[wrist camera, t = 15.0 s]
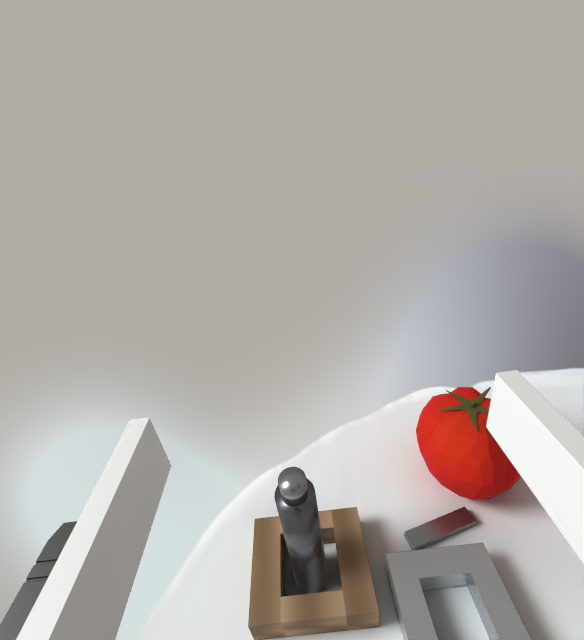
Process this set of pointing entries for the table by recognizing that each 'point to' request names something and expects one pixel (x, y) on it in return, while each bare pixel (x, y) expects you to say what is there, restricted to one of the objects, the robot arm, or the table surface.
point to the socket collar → (444, 572)
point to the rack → (316, 608)
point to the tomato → (463, 445)
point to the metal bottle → (302, 529)
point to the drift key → (439, 528)
